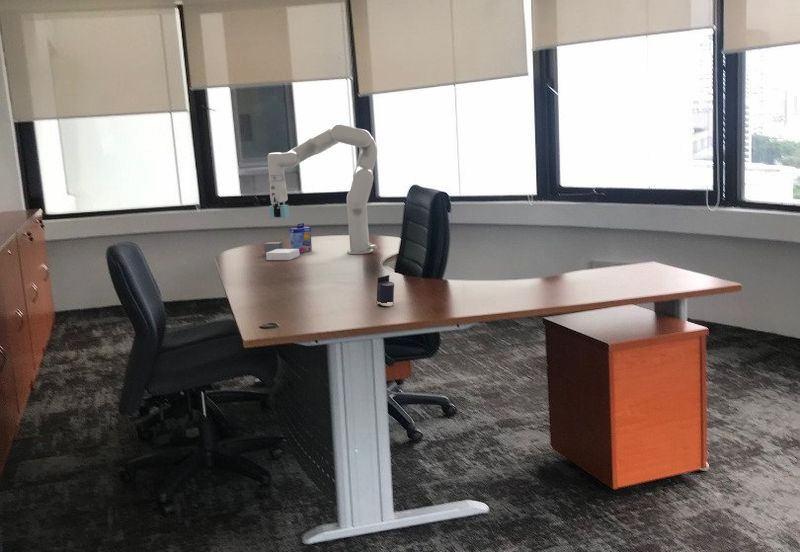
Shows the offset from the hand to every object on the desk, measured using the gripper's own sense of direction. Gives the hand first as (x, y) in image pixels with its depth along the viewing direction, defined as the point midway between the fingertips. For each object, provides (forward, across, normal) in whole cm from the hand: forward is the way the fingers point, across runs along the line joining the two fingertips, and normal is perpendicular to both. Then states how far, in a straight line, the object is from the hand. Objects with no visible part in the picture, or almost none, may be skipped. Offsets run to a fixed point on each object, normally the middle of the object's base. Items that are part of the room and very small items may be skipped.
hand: (279, 215), depth 440 cm
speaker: (+21, -97, -89) cm, 133 cm away
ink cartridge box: (+21, +19, -1) cm, 28 cm away
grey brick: (+21, +10, +10) cm, 25 cm away
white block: (+21, 0, 0) cm, 21 cm away
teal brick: (+1, 0, 0) cm, 1 cm away
